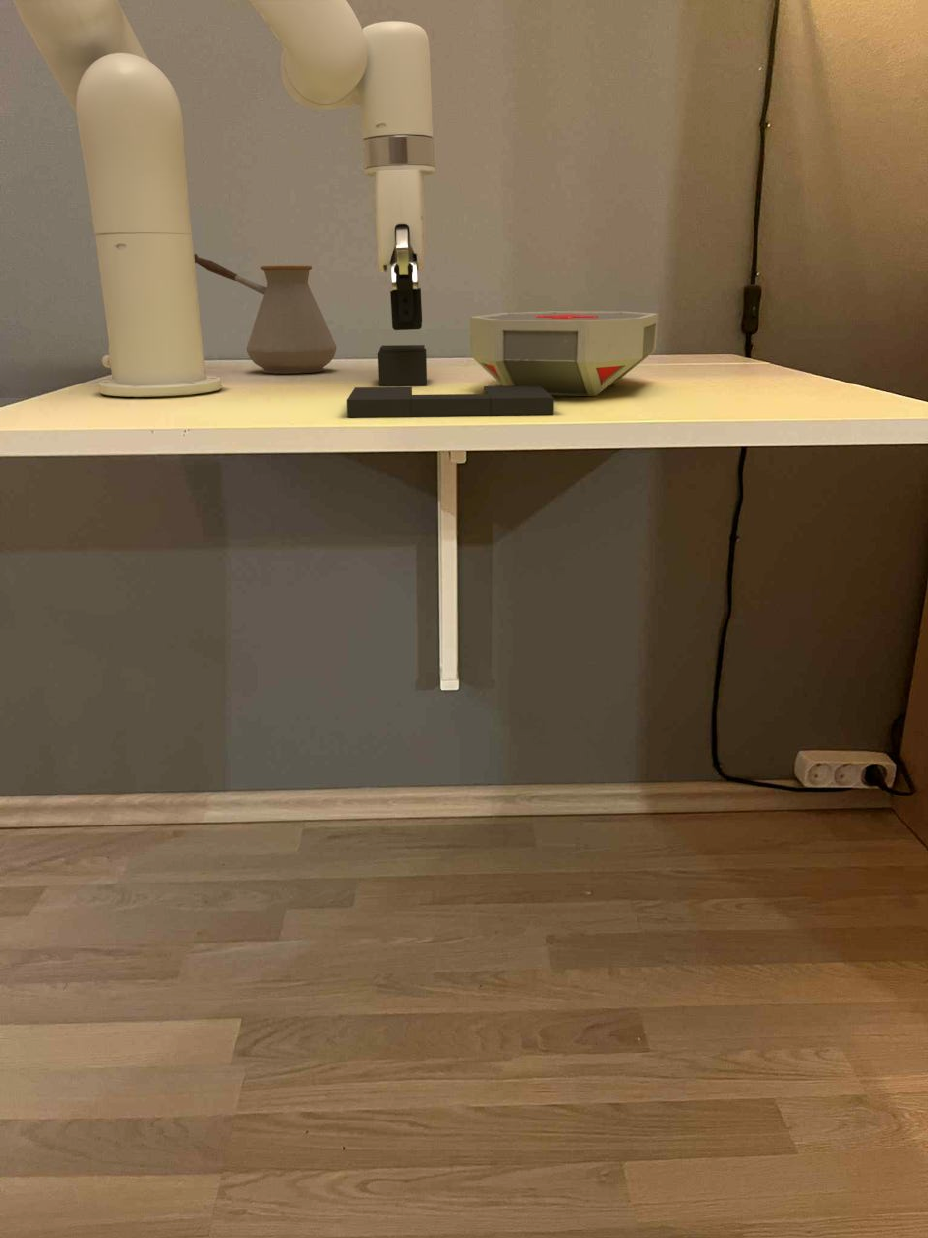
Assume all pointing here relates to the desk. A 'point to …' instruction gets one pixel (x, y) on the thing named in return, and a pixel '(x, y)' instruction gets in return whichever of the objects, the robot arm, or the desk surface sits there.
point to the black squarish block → (402, 365)
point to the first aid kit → (562, 348)
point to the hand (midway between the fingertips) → (408, 326)
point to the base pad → (449, 402)
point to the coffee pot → (285, 321)
